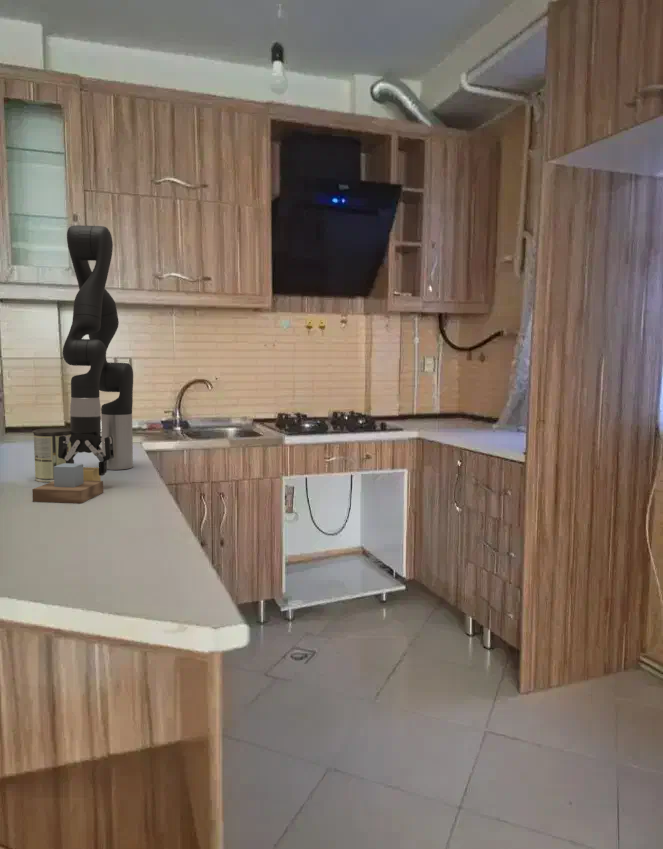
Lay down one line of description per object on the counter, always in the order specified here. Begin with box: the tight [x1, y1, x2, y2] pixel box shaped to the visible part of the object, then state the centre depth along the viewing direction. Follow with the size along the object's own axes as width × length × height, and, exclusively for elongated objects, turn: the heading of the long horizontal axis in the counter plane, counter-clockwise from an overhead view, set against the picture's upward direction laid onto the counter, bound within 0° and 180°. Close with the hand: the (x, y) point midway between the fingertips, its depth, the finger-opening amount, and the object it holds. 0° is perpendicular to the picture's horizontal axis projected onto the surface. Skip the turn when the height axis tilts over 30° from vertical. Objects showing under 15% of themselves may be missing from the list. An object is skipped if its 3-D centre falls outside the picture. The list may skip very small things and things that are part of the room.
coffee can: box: [32, 427, 73, 483], centre depth 172 cm, size 10×10×14 cm
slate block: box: [54, 463, 84, 487], centre depth 150 cm, size 5×5×5 cm
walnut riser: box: [31, 480, 104, 504], centre depth 150 cm, size 12×12×3 cm
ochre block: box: [83, 466, 102, 481], centre depth 162 cm, size 5×5×5 cm
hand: (86, 474), depth 162 cm, fingers open, 8 cm apart
